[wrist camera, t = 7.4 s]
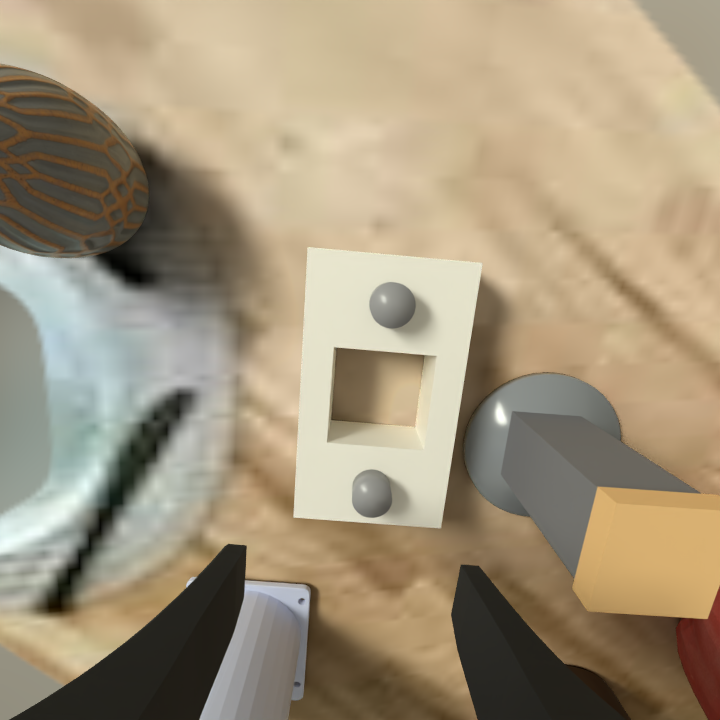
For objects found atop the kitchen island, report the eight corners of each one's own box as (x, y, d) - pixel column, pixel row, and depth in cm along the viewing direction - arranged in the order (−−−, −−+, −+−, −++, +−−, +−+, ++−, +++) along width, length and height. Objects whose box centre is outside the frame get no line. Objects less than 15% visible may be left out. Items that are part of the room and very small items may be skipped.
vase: (182, 141, 18) (31, 28, 10) (159, 277, 20) (10, 279, 11) (42, 96, 18) (-243, -64, 9) (29, 238, 20) (-228, 211, 11)
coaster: (594, 515, 23) (600, 521, 23) (453, 504, 23) (455, 510, 23) (630, 379, 21) (638, 381, 21) (475, 365, 21) (479, 368, 21)
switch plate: (430, 495, 23) (446, 544, 19) (301, 486, 23) (289, 532, 19) (464, 264, 20) (491, 262, 16) (315, 251, 20) (303, 245, 16)
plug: (569, 482, 22) (707, 619, 13) (496, 477, 22) (587, 611, 13) (585, 413, 21) (745, 512, 12) (509, 407, 21) (616, 503, 12)
